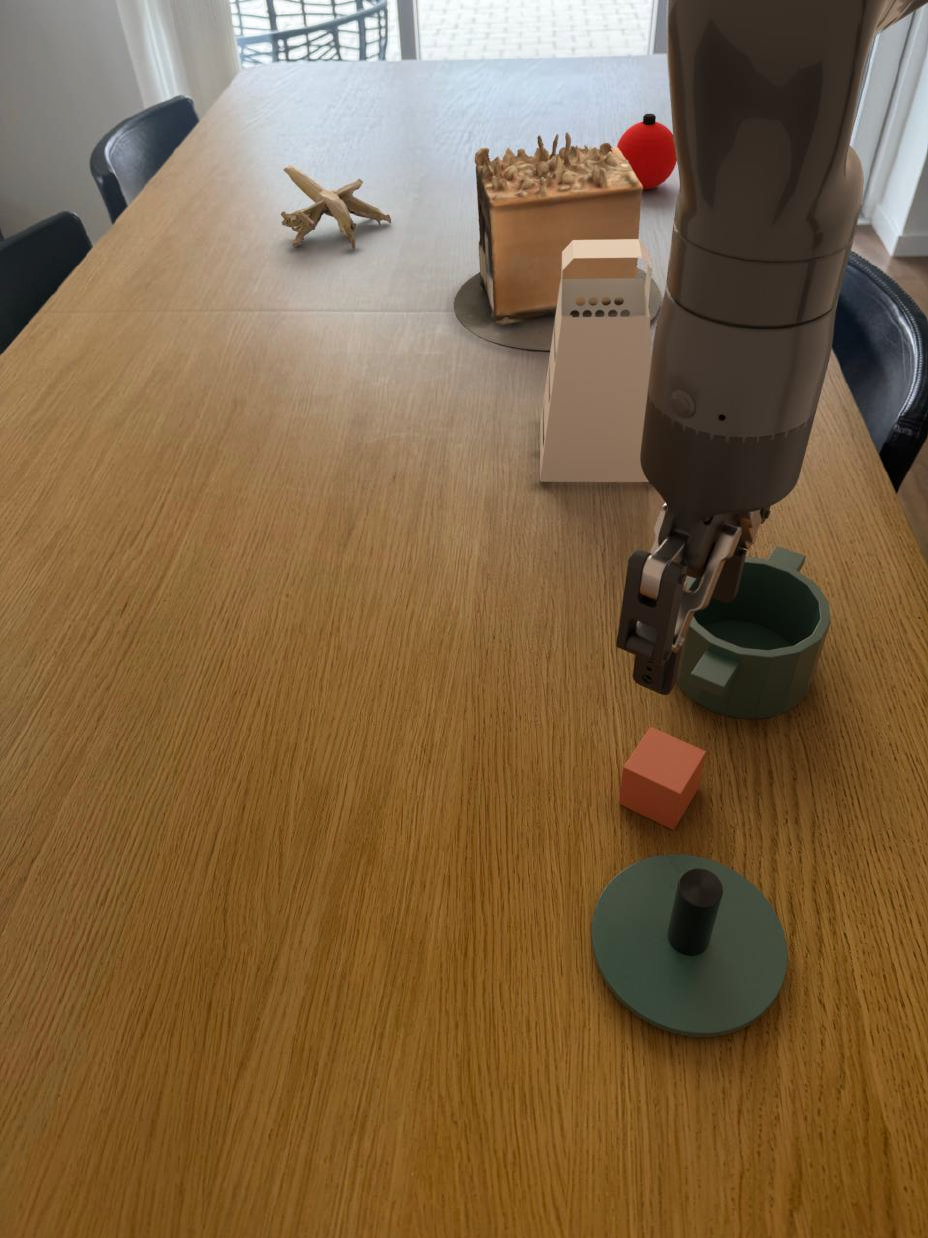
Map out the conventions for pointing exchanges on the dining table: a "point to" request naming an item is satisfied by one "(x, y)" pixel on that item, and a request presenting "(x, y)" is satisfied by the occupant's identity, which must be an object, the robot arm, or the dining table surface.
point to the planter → (547, 238)
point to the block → (661, 777)
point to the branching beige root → (328, 207)
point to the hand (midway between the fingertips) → (686, 638)
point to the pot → (756, 641)
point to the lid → (689, 945)
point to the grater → (597, 374)
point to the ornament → (649, 151)
